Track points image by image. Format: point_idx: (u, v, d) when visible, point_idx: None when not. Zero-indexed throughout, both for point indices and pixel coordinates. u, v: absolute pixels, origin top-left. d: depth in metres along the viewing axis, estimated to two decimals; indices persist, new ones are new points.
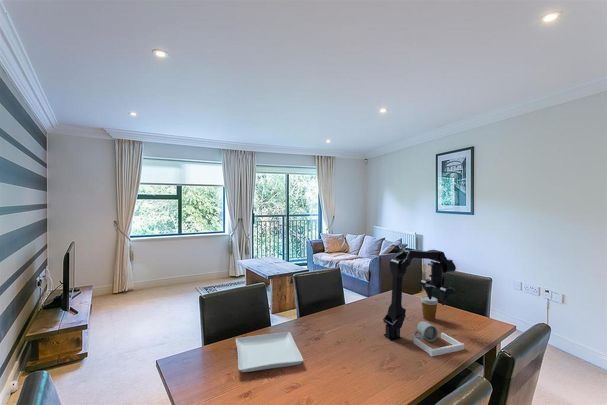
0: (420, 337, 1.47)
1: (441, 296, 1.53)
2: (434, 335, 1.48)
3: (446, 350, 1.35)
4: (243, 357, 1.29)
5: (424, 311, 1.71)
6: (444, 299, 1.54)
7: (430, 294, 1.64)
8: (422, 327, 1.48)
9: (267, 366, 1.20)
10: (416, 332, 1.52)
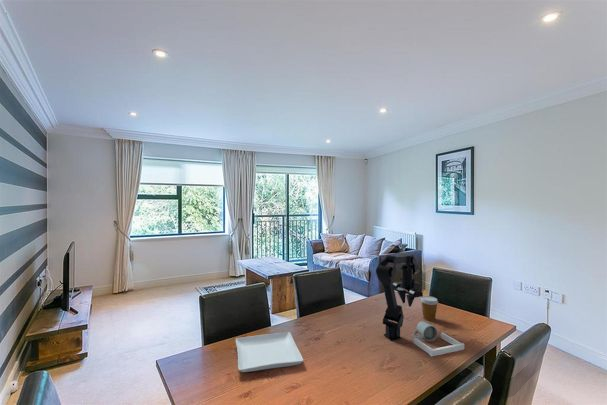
0: (420, 337, 1.47)
1: (407, 298, 1.58)
2: (434, 335, 1.48)
3: (446, 350, 1.35)
4: (243, 357, 1.29)
5: (424, 311, 1.71)
6: (411, 300, 1.59)
7: (404, 298, 1.65)
8: (422, 327, 1.48)
9: (267, 366, 1.20)
10: (416, 332, 1.52)
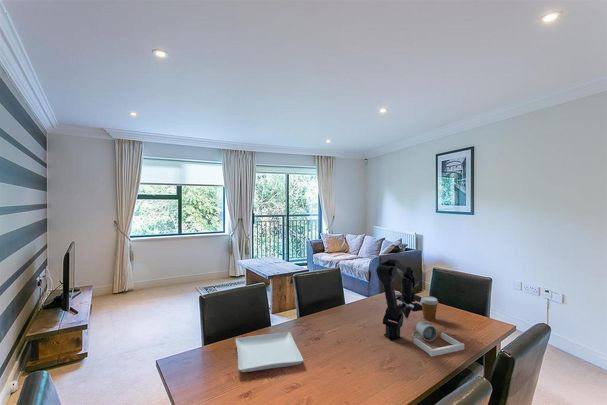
0: (419, 337, 1.47)
1: (404, 309, 1.60)
2: (433, 335, 1.48)
3: (446, 350, 1.35)
4: (243, 357, 1.29)
5: (424, 311, 1.71)
6: (407, 312, 1.61)
7: None
8: (421, 327, 1.48)
9: (267, 366, 1.20)
10: (415, 332, 1.52)
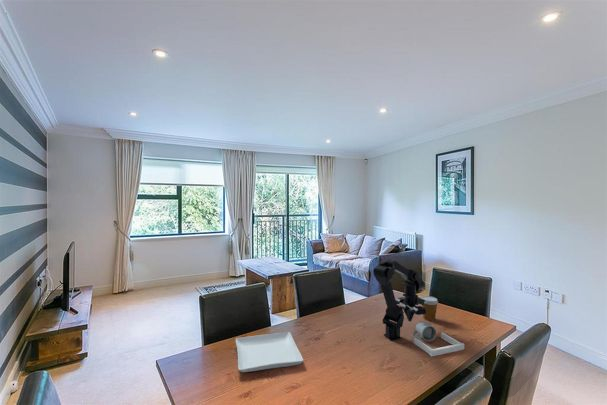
0: (418, 337, 1.47)
1: (408, 313, 1.58)
2: (433, 335, 1.48)
3: (446, 350, 1.35)
4: (243, 357, 1.29)
5: None
6: (411, 315, 1.59)
7: None
8: (421, 328, 1.48)
9: (267, 366, 1.20)
10: (415, 332, 1.52)
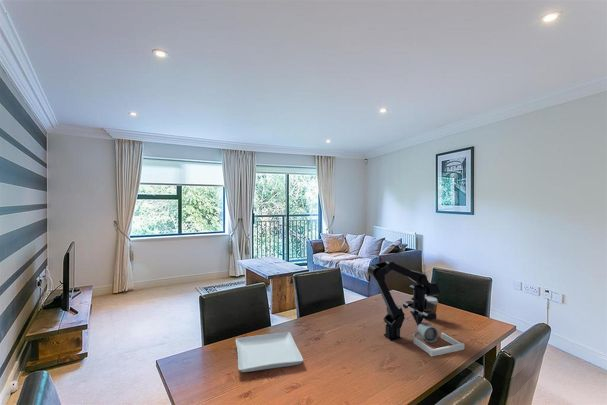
0: (420, 338, 1.45)
1: (417, 317, 1.51)
2: (434, 336, 1.47)
3: (446, 350, 1.35)
4: (243, 357, 1.29)
5: None
6: (420, 320, 1.52)
7: None
8: (423, 329, 1.46)
9: (267, 366, 1.20)
10: (416, 333, 1.50)
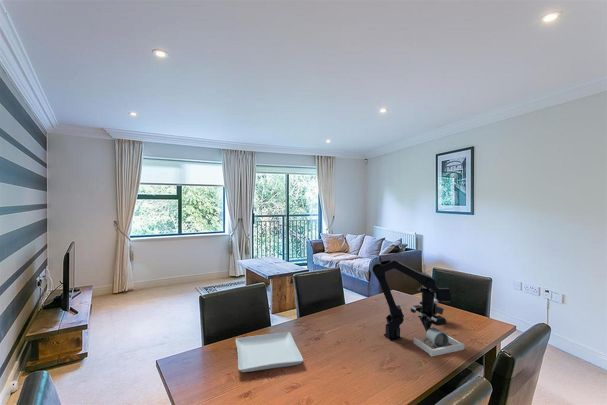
0: (430, 345, 1.39)
1: (425, 322, 1.45)
2: (444, 342, 1.41)
3: (446, 350, 1.35)
4: (243, 357, 1.29)
5: None
6: (428, 325, 1.46)
7: None
8: (433, 334, 1.40)
9: (267, 366, 1.20)
10: (425, 339, 1.44)
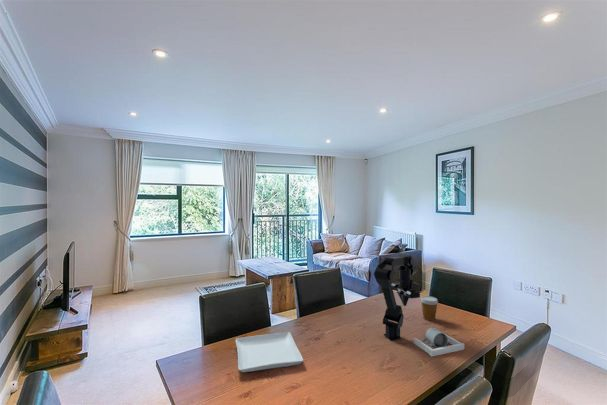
0: (429, 345, 1.39)
1: (402, 297, 1.59)
2: (444, 342, 1.41)
3: (446, 350, 1.35)
4: (243, 357, 1.29)
5: (424, 311, 1.71)
6: (405, 300, 1.60)
7: None
8: (432, 335, 1.40)
9: (267, 366, 1.20)
10: (425, 339, 1.44)
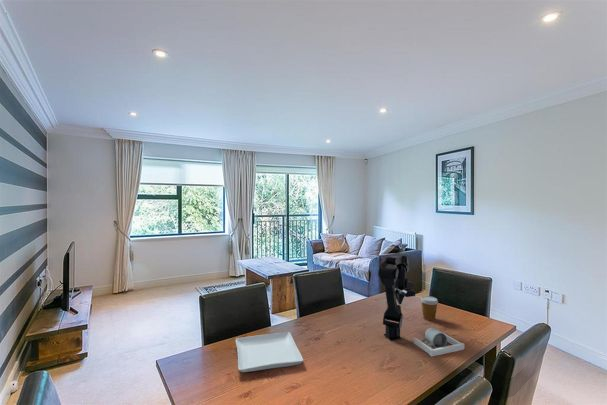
0: (429, 345, 1.39)
1: (398, 296, 1.61)
2: (443, 343, 1.41)
3: (446, 350, 1.35)
4: (243, 357, 1.29)
5: (424, 311, 1.71)
6: (401, 298, 1.62)
7: None
8: (431, 335, 1.40)
9: (267, 366, 1.20)
10: (424, 339, 1.44)
